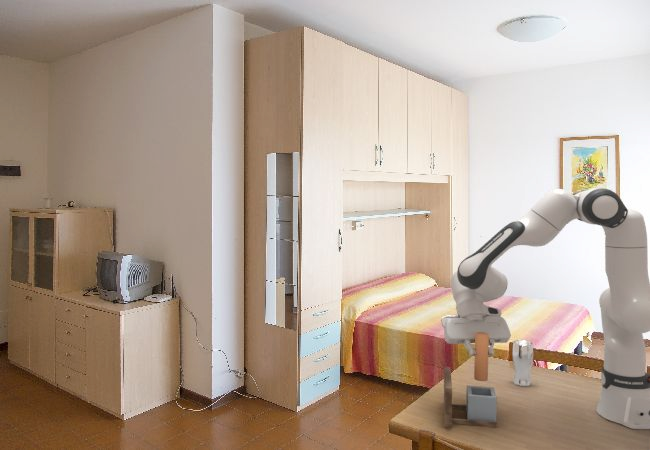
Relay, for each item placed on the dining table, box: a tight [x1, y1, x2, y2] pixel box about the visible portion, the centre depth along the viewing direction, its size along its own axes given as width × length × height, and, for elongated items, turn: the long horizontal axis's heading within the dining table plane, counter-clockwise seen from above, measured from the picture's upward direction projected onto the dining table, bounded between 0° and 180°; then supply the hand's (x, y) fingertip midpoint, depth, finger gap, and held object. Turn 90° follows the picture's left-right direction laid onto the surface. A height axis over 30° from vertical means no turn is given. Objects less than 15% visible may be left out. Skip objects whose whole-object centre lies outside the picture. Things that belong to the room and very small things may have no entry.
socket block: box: [465, 384, 498, 422], centre depth 155 cm, size 8×8×8 cm
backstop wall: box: [443, 366, 498, 429], centre depth 155 cm, size 15×18×12 cm
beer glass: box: [511, 339, 534, 387], centre depth 181 cm, size 7×7×15 cm
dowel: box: [473, 332, 490, 382], centre depth 154 cm, size 4×4×14 cm
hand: (482, 354), depth 153 cm, fingers closed on dowel, 4 cm apart
